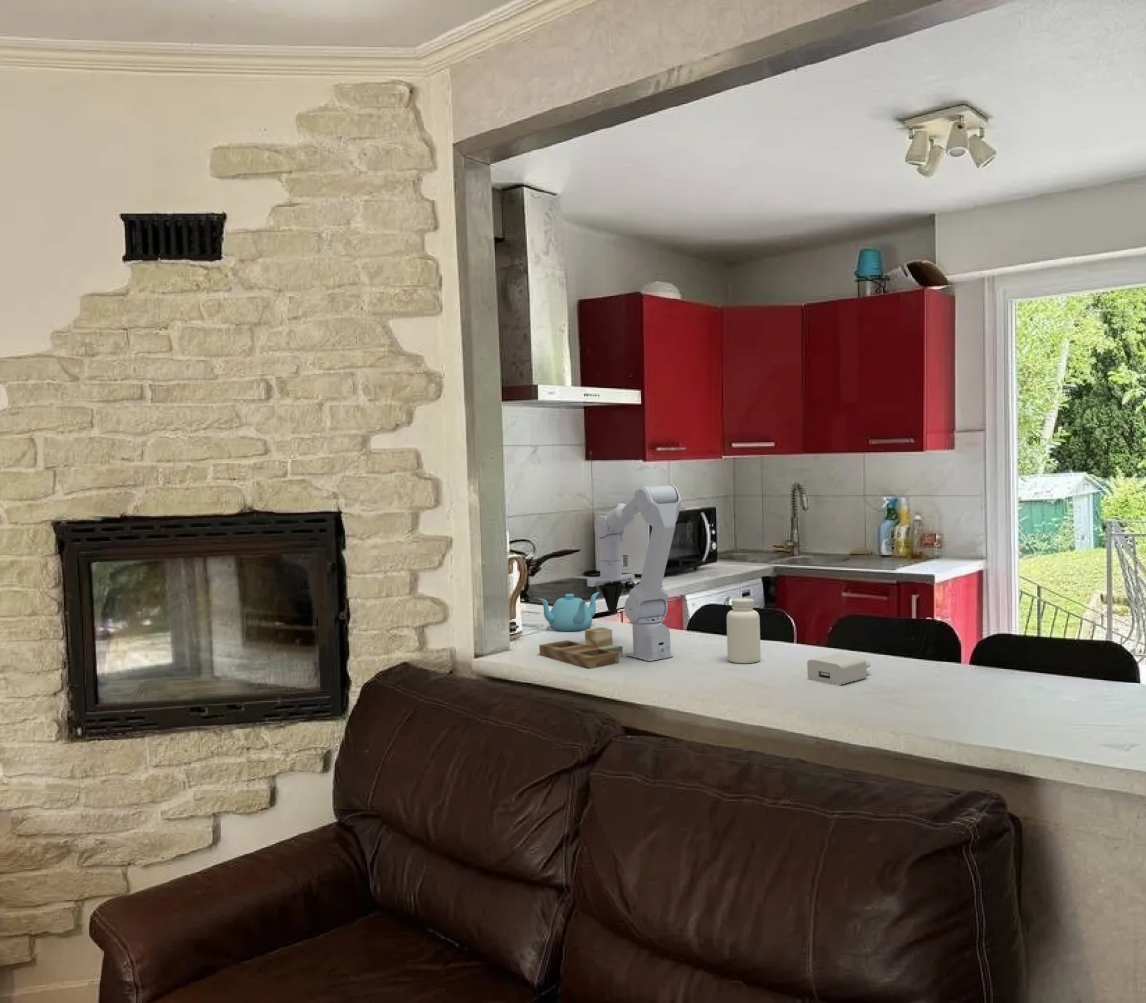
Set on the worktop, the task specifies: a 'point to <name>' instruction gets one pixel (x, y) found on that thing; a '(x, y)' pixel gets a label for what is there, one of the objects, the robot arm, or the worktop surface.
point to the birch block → (598, 637)
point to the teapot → (570, 613)
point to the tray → (582, 653)
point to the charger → (837, 669)
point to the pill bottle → (743, 632)
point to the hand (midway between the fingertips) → (612, 610)
